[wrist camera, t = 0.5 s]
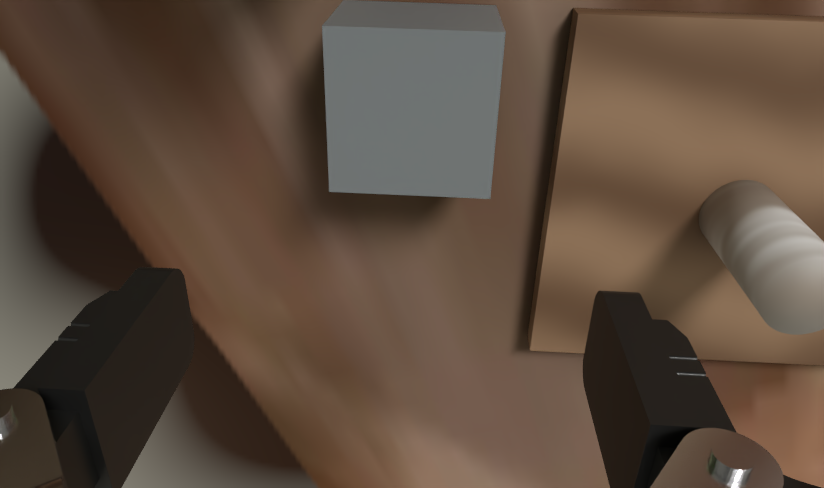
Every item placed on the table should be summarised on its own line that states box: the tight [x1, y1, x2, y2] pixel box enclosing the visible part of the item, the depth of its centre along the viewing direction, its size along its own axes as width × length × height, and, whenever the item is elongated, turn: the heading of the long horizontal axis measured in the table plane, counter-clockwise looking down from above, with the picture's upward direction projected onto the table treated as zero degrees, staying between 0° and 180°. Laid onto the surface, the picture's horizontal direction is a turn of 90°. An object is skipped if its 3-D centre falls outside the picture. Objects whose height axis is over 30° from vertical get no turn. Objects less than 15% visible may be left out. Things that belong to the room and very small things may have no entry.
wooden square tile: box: [527, 8, 824, 366], centre depth 26 cm, size 16×16×8 cm
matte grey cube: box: [322, 0, 506, 199], centre depth 25 cm, size 6×6×5 cm
